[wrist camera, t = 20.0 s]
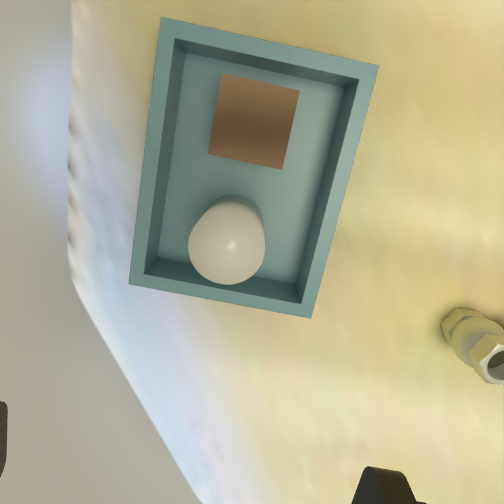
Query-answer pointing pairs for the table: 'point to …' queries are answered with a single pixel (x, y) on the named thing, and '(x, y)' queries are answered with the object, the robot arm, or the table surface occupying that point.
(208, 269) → the ceramic capsule
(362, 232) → the table surface
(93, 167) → the table surface
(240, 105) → the walnut cube
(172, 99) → the tote
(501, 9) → the table surface
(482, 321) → the valve
